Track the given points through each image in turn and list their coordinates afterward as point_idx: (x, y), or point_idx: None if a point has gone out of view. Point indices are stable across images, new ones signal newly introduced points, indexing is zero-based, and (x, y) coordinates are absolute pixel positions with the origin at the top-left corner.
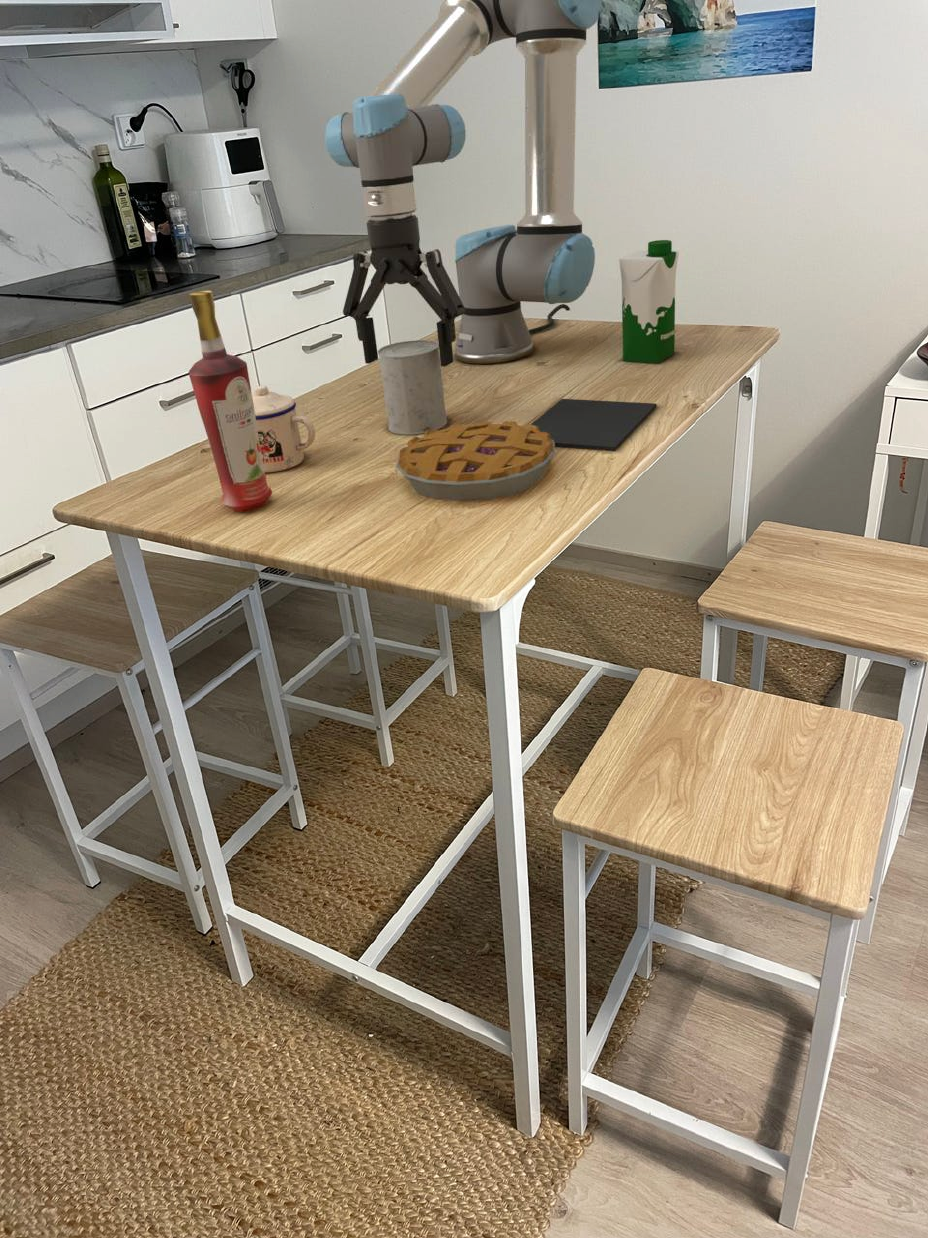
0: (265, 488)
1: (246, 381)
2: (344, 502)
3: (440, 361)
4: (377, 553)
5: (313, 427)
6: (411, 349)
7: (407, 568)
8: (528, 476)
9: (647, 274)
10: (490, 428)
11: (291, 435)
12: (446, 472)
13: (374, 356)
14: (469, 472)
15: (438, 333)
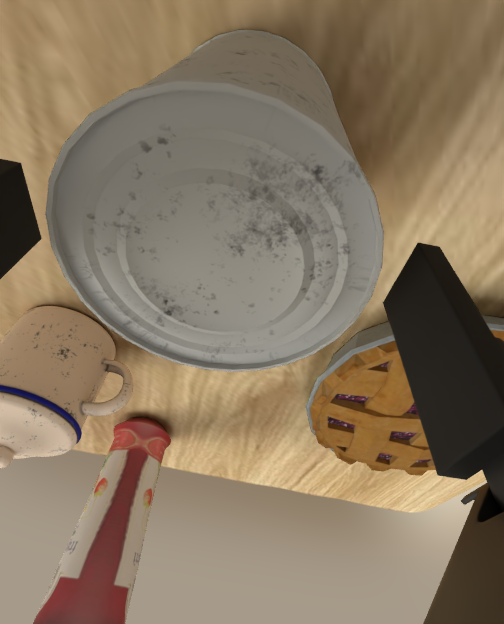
0: (164, 446)
1: (125, 608)
2: (254, 426)
3: (387, 315)
4: (326, 482)
5: (128, 396)
6: (230, 262)
7: (356, 493)
8: None
9: None
10: None
11: (97, 391)
12: (391, 466)
13: (17, 202)
14: (421, 467)
15: (424, 418)
